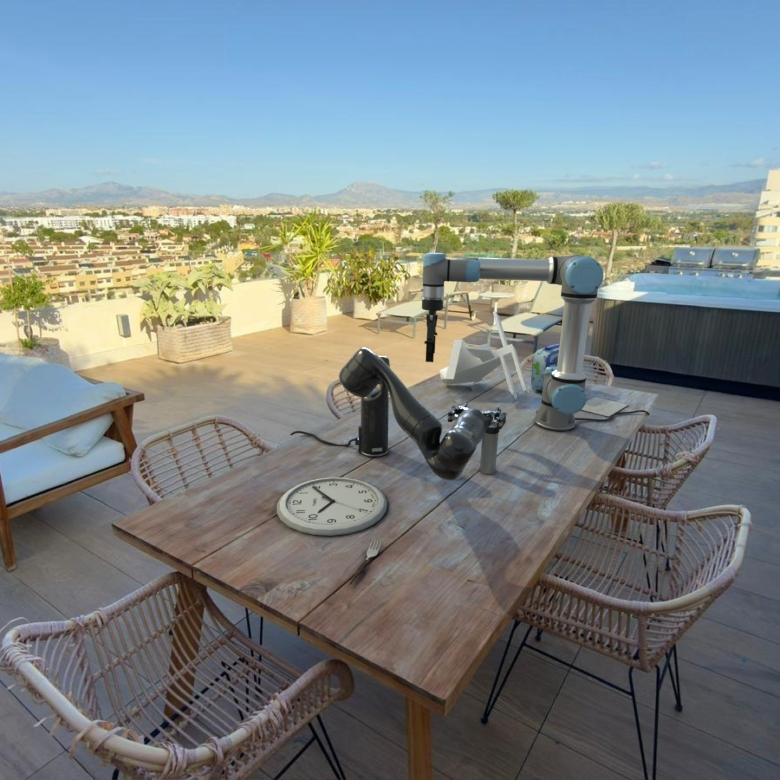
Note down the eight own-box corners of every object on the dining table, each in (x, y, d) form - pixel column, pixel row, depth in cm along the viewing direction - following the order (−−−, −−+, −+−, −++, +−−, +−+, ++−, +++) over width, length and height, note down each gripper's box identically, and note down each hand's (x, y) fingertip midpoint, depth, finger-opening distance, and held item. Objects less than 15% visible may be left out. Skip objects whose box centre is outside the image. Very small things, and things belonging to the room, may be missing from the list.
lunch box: (547, 396, 238) (552, 351, 232) (526, 391, 246) (531, 347, 239) (574, 385, 256) (579, 343, 250) (554, 380, 263) (559, 340, 257)
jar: (479, 473, 163) (482, 427, 158) (479, 466, 167) (483, 422, 163) (495, 475, 162) (499, 429, 157) (495, 468, 167) (499, 423, 162)
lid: (481, 433, 159) (482, 426, 158) (482, 426, 164) (482, 420, 163) (499, 434, 158) (500, 428, 157) (499, 428, 163) (500, 421, 162)
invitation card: (608, 416, 214) (573, 407, 224) (608, 416, 214) (573, 408, 224) (628, 404, 229) (594, 396, 238) (628, 405, 229) (594, 397, 238)
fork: (344, 585, 111) (344, 577, 110) (372, 544, 125) (372, 537, 125) (355, 588, 110) (355, 580, 109) (382, 546, 124) (382, 539, 124)
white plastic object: (461, 429, 252) (437, 405, 227) (444, 352, 274) (420, 323, 250) (535, 404, 240) (518, 377, 215) (510, 326, 262) (492, 293, 237)
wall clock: (392, 527, 129) (268, 531, 127) (391, 533, 130) (269, 537, 127) (383, 473, 158) (282, 475, 155) (383, 478, 158) (282, 480, 156)
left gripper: (439, 439, 128) (454, 418, 143) (497, 448, 123) (507, 425, 138) (440, 410, 126) (456, 391, 140) (500, 418, 121) (510, 398, 136)
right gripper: (424, 293, 195) (422, 349, 202) (419, 302, 172) (417, 365, 178) (444, 294, 195) (441, 350, 201) (442, 303, 171) (439, 366, 177)
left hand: (481, 408), depth 139 cm, fingers open, 8 cm apart
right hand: (430, 357), depth 190 cm, fingers open, 13 cm apart
